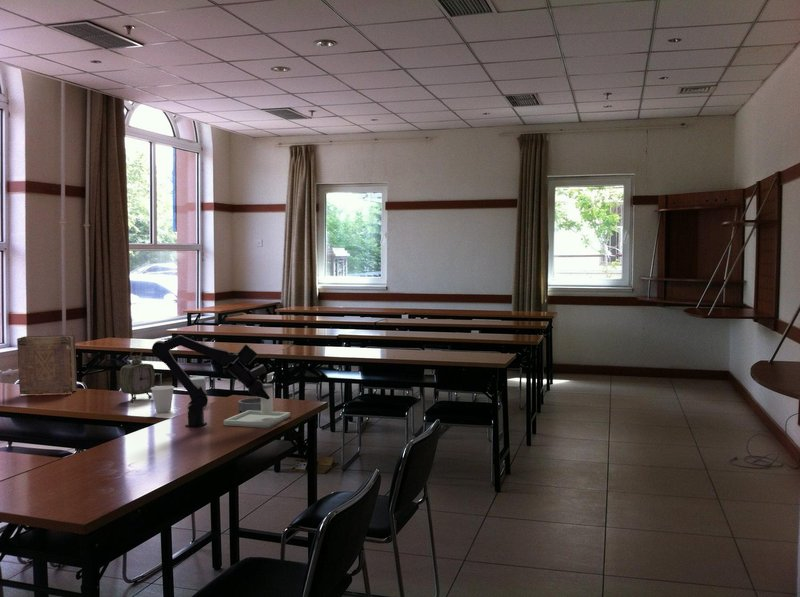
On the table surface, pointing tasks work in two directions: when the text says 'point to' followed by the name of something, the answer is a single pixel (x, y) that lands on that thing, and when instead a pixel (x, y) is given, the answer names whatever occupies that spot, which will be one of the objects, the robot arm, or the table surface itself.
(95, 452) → the table surface
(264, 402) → the canister
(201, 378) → the supplement box
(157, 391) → the cup
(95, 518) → the table surface
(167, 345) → the robot arm
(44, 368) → the book
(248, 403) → the collar
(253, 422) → the tray
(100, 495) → the table surface
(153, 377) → the tabletop clock
